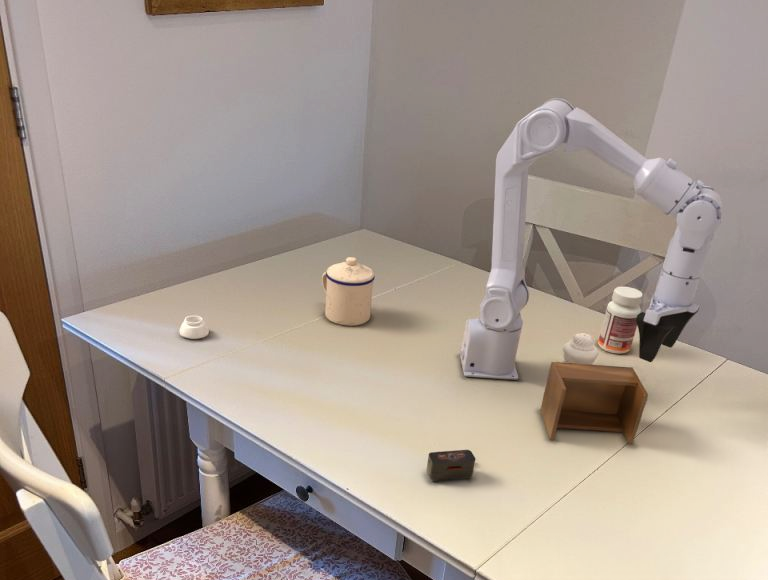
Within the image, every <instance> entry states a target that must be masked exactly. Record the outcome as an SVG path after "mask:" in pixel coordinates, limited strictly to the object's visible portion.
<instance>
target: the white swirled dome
mask: <svg viewBox="0 0 768 580" xmlns="http://www.w3.org/2000/svg"><path fill="white" fill-rule="evenodd" d="M562 353H563V359H564V361H565V362H564V363H576V364H590V365H593V364H594V363H595V360H596V359H598V356H599V351H598V349H597V347H596V346H595V344H594V338H593V337H592V335H590V334H589V333H583V332H579V333H576V334H575V335H573V338H572V339H570V341H567V342H566V343H565V344H564V345H563V347H562Z"/></svg>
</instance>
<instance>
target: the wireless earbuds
mask: <svg viewBox="0 0 768 580" xmlns="http://www.w3.org/2000/svg"><path fill="white" fill-rule="evenodd" d="M476 459H477V458H476V457H475V454H474V453H473V452H472V451H471V450H470V449H459V450H456V449H455V450H444V451H432V452H429V453H428V457H427V464H426V470H425V471H426V474H427V475H428V477H429V479H430V481H432V482H437V481H438V482H439V481H450V480H451V481H452V480H461V479H470V478H472V477H473V474H474V470H475V464H476Z"/></svg>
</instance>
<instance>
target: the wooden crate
mask: <svg viewBox="0 0 768 580" xmlns="http://www.w3.org/2000/svg"><path fill="white" fill-rule="evenodd" d="M547 375H548V376H547V378H546V384H545V387H544V392H543V396H542V401H541V405H540V410H539V411H540V414H541V417H542V420H543V423H544V426H545V429H546V431H547V434H548V438H549V440H553V441H554V440H555V436H556V432H557V429H569V430H572V429H573V430H587V431H600V432H601V431H602V432H616V433H623V436H624V437H625V439H626V442H627V444H628V446H629V445H631V446H633V444H634V441H635V438H636V434H637V432H638V429H639V426H640V423H641V420H642V416H643V414H644V413H643V412H644V411H645V408H646V403H647V401H648V397H649V393H648V391H647V390H646V388H645V386H644V384H643V383H642V380H641V379H640V378H639V376H638V374H637V372H636V371H635V369H634V368H633V367H632V366H617V365H605V364H604V365H602V364H591V365H590V364H576V363H566V362H559V361H551V362H550V366H549V371H548V374H547Z"/></svg>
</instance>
